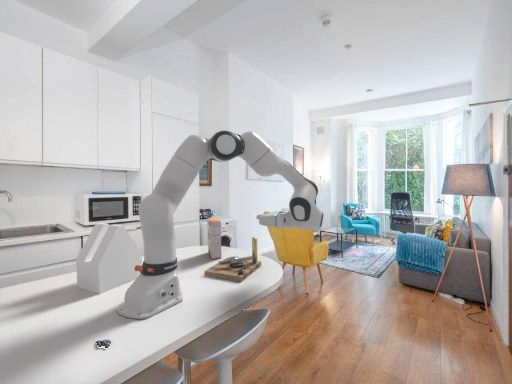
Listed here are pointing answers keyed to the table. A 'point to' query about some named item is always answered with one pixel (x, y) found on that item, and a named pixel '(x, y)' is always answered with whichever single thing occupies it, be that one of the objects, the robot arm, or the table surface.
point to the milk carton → (107, 259)
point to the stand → (233, 270)
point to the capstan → (237, 261)
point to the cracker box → (214, 237)
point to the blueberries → (104, 343)
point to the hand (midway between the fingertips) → (257, 216)
